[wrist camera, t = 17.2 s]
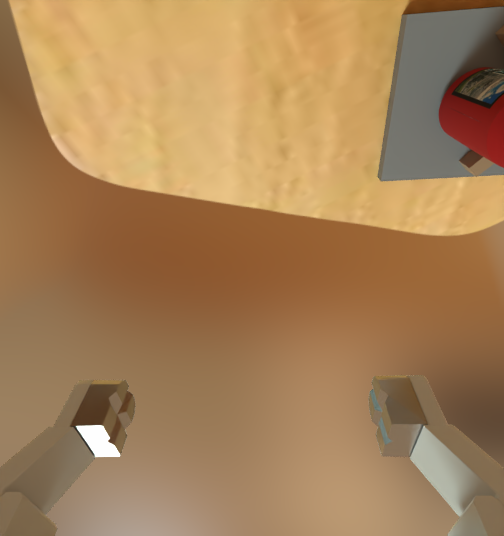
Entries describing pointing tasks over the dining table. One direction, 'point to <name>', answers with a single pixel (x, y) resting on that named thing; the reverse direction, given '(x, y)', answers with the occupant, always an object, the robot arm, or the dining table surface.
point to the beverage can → (476, 112)
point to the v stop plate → (436, 92)
